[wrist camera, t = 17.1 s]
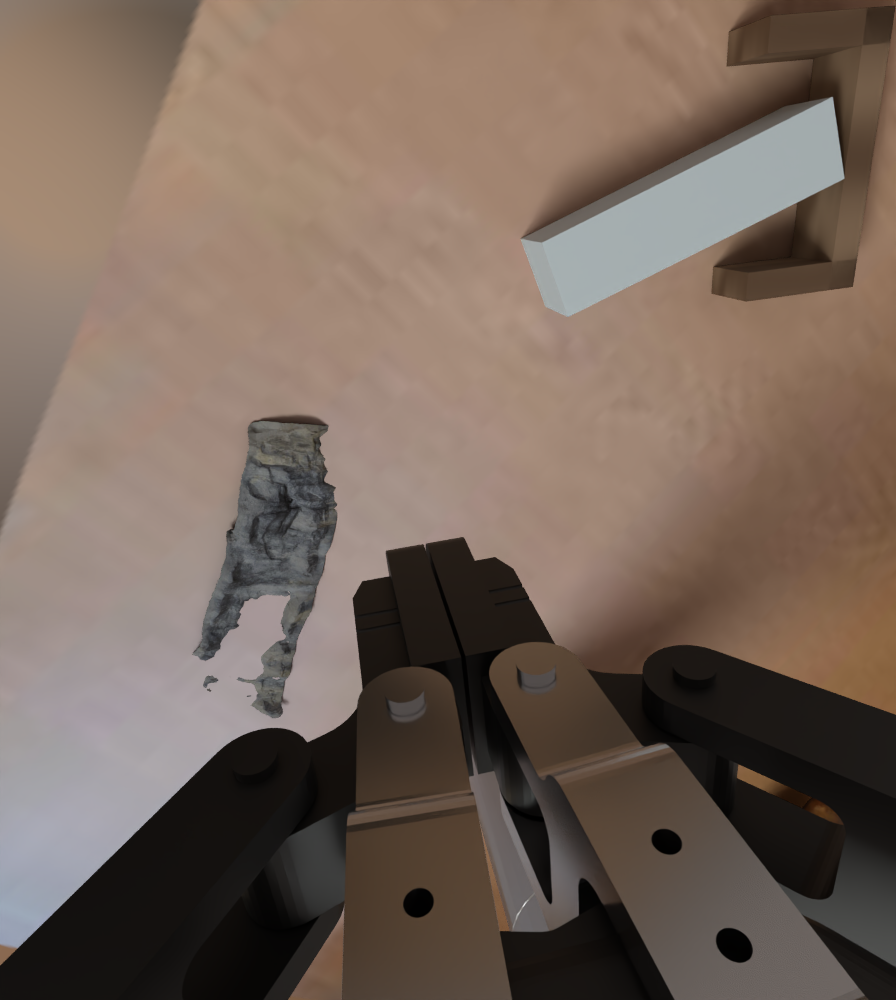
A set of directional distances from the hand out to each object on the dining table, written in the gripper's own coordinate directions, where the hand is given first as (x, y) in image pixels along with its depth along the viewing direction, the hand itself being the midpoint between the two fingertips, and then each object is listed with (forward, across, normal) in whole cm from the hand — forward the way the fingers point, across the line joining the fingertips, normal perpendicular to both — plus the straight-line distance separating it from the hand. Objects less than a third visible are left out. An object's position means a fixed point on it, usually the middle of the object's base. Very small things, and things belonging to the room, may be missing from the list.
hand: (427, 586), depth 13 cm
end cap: (+27, -24, -6) cm, 37 cm away
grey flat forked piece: (+28, +8, +14) cm, 32 cm away
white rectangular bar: (+27, -18, -4) cm, 33 cm away
